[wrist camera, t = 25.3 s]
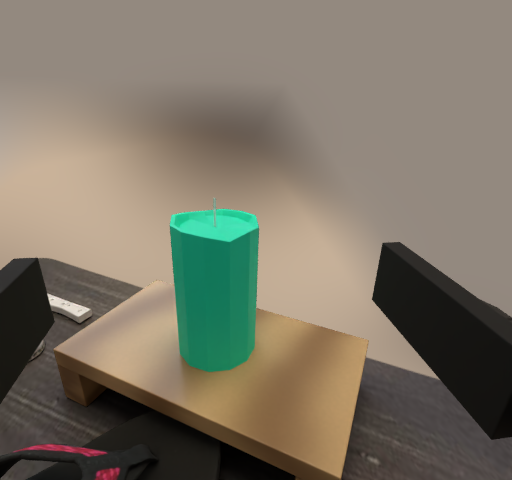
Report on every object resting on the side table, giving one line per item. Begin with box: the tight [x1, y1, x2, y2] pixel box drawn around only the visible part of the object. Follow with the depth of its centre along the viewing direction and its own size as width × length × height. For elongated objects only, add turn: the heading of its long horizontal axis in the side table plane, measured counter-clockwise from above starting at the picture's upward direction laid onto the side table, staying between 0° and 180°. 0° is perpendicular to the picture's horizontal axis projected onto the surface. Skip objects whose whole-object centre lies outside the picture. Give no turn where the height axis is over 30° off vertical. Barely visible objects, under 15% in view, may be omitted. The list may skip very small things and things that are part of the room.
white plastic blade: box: [47, 293, 92, 323], centre depth 38 cm, size 5×15×1 cm, turn 65°
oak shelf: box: [53, 280, 369, 480], centre depth 27 cm, size 22×12×5 cm, turn 66°
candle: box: [170, 198, 259, 372], centre depth 24 cm, size 6×6×12 cm
